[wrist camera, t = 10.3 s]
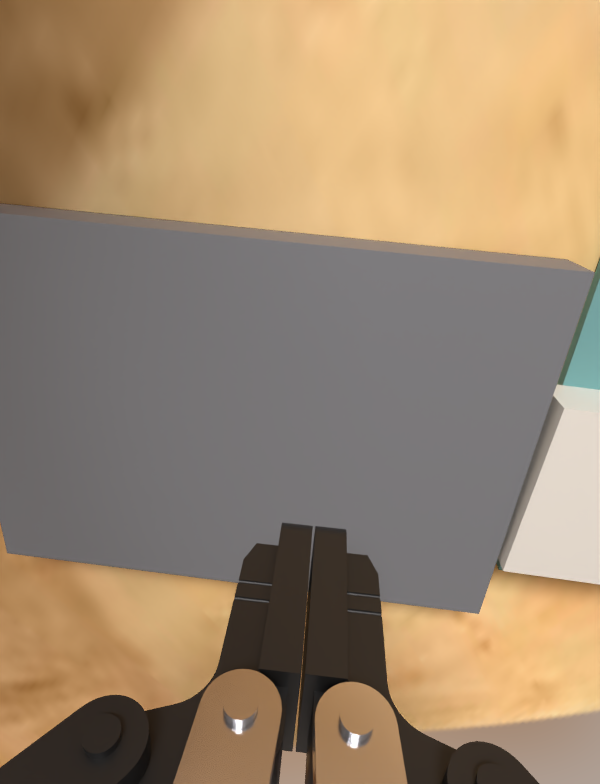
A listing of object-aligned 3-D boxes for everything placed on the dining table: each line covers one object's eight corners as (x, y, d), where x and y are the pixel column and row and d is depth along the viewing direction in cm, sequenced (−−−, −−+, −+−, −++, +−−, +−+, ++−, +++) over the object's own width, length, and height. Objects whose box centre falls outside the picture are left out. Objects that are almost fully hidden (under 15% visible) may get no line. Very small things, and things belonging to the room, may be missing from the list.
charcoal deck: (-28, 200, 17) (-72, 205, 15) (567, 259, 16) (594, 272, 14) (33, 522, 23) (7, 553, 21) (468, 576, 22) (478, 613, 20)
